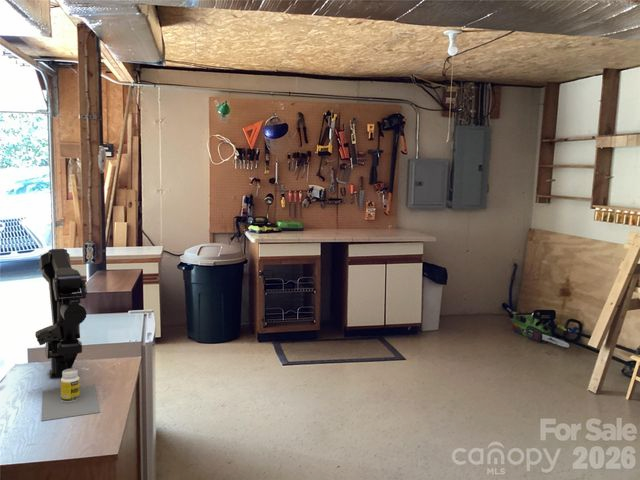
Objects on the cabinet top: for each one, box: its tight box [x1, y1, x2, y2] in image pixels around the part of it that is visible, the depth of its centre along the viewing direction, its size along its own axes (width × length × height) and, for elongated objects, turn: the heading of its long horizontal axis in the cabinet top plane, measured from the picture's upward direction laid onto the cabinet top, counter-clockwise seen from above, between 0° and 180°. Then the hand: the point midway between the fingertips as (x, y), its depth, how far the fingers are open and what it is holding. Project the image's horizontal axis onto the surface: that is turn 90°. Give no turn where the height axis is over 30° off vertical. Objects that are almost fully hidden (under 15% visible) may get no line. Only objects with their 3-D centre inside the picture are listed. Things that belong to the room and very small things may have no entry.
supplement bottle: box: [60, 367, 81, 403], centre depth 146 cm, size 5×5×8 cm
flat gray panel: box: [40, 384, 101, 422], centre depth 146 cm, size 20×14×1 cm
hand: (69, 368), depth 153 cm, fingers closed
